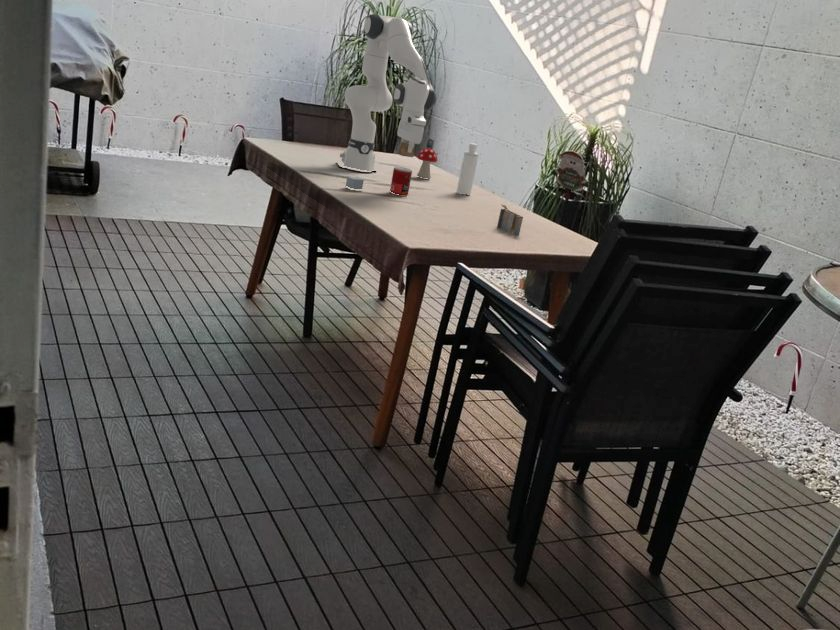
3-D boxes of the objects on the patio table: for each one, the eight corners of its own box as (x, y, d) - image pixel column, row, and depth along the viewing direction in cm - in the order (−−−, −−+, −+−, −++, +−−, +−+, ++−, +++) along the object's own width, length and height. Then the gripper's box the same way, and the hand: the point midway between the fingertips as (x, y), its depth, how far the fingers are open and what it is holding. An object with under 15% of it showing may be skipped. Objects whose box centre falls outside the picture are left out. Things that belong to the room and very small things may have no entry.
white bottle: (469, 196, 375) (480, 142, 367) (455, 193, 376) (466, 139, 368) (471, 194, 381) (482, 141, 373) (457, 191, 382) (468, 138, 374)
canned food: (404, 197, 343) (408, 171, 339) (386, 192, 345) (391, 167, 341) (410, 195, 350) (414, 169, 346) (393, 190, 352) (397, 165, 348)
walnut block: (398, 153, 343) (400, 142, 342) (409, 155, 345) (411, 143, 344) (402, 155, 339) (404, 144, 337) (413, 157, 341) (415, 145, 339)
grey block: (345, 188, 338) (347, 176, 336) (355, 188, 341) (357, 177, 339) (351, 191, 334) (353, 179, 332) (361, 191, 337) (363, 179, 336)
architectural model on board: (495, 227, 319) (501, 203, 316) (502, 228, 321) (507, 204, 318) (512, 235, 310) (518, 211, 307) (518, 236, 312) (524, 211, 309)
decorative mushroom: (434, 179, 404) (439, 149, 399) (432, 181, 396) (438, 151, 391) (414, 175, 404) (419, 145, 399) (412, 177, 396) (418, 147, 391)
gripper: (396, 113, 345) (391, 145, 349) (413, 120, 327) (407, 154, 332) (410, 115, 348) (404, 147, 352) (427, 122, 330) (421, 156, 334)
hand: (406, 151), depth 342 cm, fingers closed on walnut block, 5 cm apart
